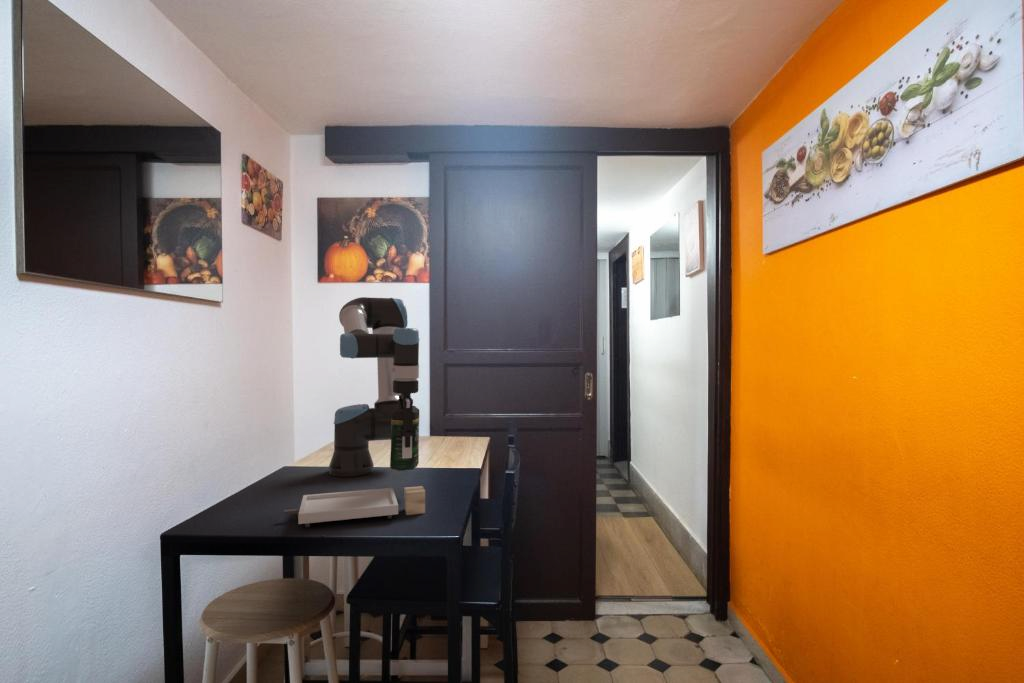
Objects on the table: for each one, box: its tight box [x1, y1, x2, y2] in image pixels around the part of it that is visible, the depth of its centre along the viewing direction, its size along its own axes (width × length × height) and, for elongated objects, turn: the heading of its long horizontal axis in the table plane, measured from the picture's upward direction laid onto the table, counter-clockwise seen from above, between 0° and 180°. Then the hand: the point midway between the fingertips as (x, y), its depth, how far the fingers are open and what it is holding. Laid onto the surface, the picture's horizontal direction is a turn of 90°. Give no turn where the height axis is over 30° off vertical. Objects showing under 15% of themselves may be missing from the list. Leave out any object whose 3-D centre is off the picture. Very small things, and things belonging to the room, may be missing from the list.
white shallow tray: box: [283, 487, 399, 528], centre depth 134 cm, size 16×28×4 cm, turn 108°
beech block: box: [403, 485, 426, 516], centre depth 139 cm, size 5×5×6 cm
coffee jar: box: [389, 405, 420, 472], centre depth 152 cm, size 10×8×19 cm
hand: (405, 453), depth 152 cm, fingers closed on coffee jar, 9 cm apart
